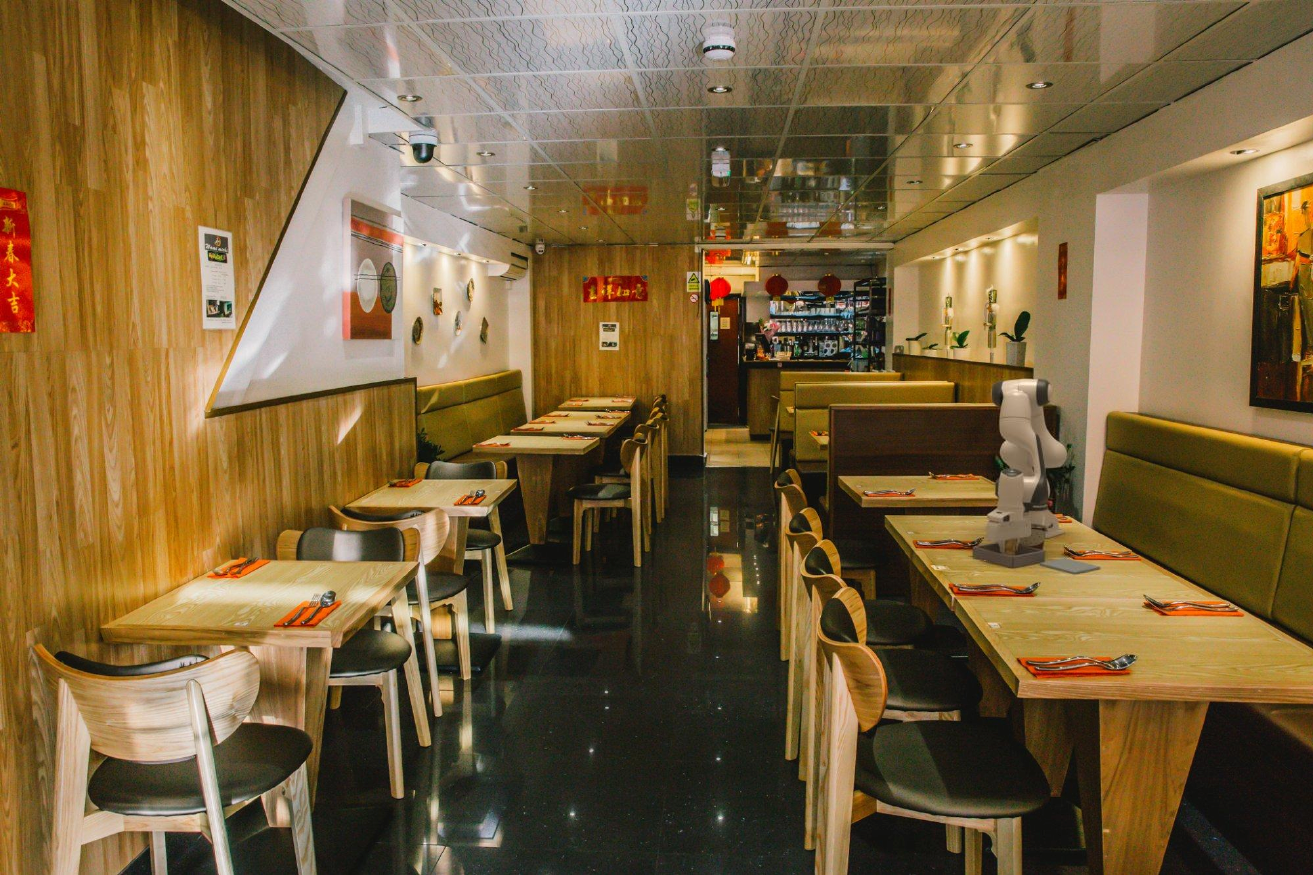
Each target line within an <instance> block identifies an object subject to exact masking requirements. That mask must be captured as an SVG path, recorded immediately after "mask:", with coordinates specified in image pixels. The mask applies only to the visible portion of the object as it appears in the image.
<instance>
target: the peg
mask: <svg viewBox="0 0 1313 875" xmlns="http://www.w3.org/2000/svg"><path fill="white" fill-rule="evenodd" d="M1015 541H1016V539H1011V540H1007V541H1005V544H1004V546H1005V548H1007V550H1006V552H1004V553H1001V554H1004V555H1008V556H1016V555H1015Z"/></svg>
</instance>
